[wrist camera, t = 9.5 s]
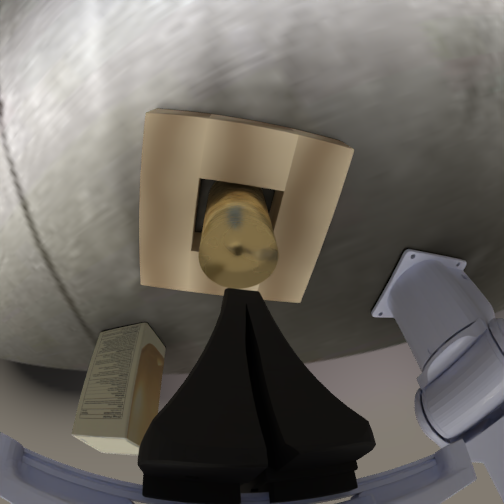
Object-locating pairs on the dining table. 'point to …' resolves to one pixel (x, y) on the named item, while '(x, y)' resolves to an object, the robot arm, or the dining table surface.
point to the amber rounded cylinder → (237, 236)
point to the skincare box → (121, 390)
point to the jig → (241, 172)
